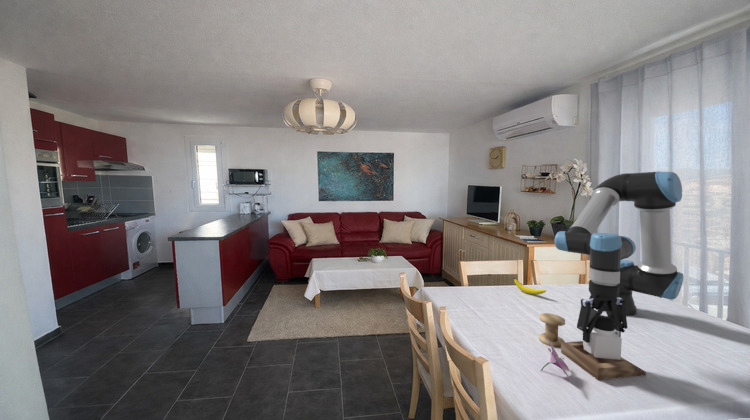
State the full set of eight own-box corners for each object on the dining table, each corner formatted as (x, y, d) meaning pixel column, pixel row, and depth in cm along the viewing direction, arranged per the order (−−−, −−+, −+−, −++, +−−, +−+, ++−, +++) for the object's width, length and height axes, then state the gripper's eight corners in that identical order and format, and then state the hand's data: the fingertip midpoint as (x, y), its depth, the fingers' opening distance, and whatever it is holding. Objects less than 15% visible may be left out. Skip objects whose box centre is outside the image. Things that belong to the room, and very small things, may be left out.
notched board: (602, 349, 97) (603, 339, 97) (645, 375, 83) (646, 364, 83) (561, 352, 95) (561, 342, 95) (597, 380, 81) (598, 368, 81)
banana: (544, 300, 140) (544, 288, 140) (511, 288, 157) (511, 278, 157) (548, 299, 142) (548, 287, 141) (515, 288, 159) (515, 277, 158)
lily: (559, 395, 77) (579, 369, 75) (521, 359, 86) (538, 336, 84) (570, 388, 85) (589, 364, 83) (534, 356, 94) (551, 334, 92)
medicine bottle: (621, 360, 85) (622, 322, 84) (594, 358, 86) (596, 321, 85) (606, 347, 92) (608, 312, 91) (582, 345, 93) (583, 311, 92)
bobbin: (553, 335, 107) (553, 312, 106) (569, 346, 99) (570, 322, 98) (534, 336, 106) (534, 313, 105) (549, 348, 98) (550, 323, 97)
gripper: (621, 276, 92) (618, 341, 94) (564, 279, 90) (561, 346, 91) (646, 284, 85) (642, 354, 86) (583, 287, 83) (581, 359, 84)
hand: (601, 350), depth 89 cm, fingers closed on medicine bottle, 8 cm apart
